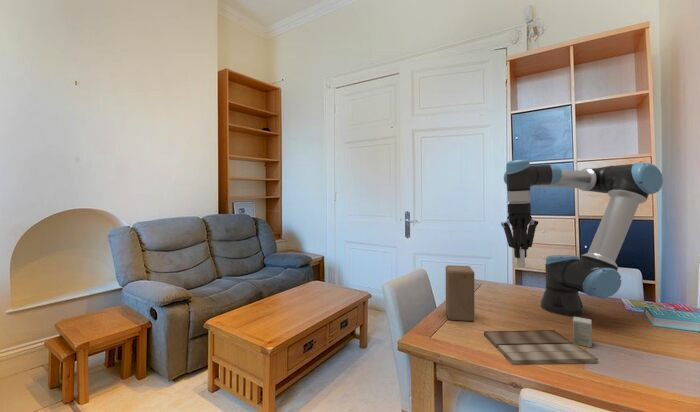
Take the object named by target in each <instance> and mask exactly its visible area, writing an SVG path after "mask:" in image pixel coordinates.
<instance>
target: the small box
mask: <svg viewBox="0 0 700 412" xmlns="http://www.w3.org/2000/svg"><path fill="white" fill-rule="evenodd" d="M592 325H593V322H592V319H589V318H585V317H579V316H573V317H572V342H573V344H576V345H578V346H579V345H580V346H584V347H589V348H592V347H593V346H592V345H593V343H592V342H593V336H592V335H593V331H592V330H593V329H592V328H593V327H592Z"/></svg>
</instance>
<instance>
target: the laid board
mask: <svg viewBox="0 0 700 412" xmlns="http://www.w3.org/2000/svg"><path fill="white" fill-rule="evenodd" d="M497 350H498V352H500V353H501V354H502V355H503V357H505V358H506V360H508V361H509V362H510V363H511V365H553V364H555V365H556V364H557V365H559V364H563V365H564V364H566V365H567V364H598V363H599V358H597V357H596V356H594V355H593V354H591V353H590V352H589V351H587V350H585V349H584V348H583V347H581V346H579V344H574V343H573V344H538V345H498V348H497Z"/></svg>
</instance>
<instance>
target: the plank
mask: <svg viewBox="0 0 700 412" xmlns="http://www.w3.org/2000/svg"><path fill="white" fill-rule="evenodd" d="M483 335H484V337H485V339H487V340H488V341H489V342H490V343H491V344H492V345H493V346H494V347H495V348H496V349H498V345H538V344H574V343H573V340H570V339H568V338H566V337H565V336H564V335H562V334H561V333H559V332H557V331H556V330H555V329H550V330H549V329H548V330H547V329H541V330H540V329H538V330H537V329H536V330H492V331H491V330H490V331H489V330H488V331H486V330H485V331H484V330H483Z"/></svg>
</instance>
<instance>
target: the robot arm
mask: <svg viewBox="0 0 700 412" xmlns="http://www.w3.org/2000/svg"><path fill="white" fill-rule="evenodd" d="M505 168H506V169H505V172H504V174H503V181H504V184H505V185H506V196H507V198H506V199H507V200H506V201H507V202H508V204H507V215H508V216H507V217H506V220H505V221H504V222H503V221H501V222H500V225H501V227H502V228H503V231H504V235H505V237H506V241H507V245H508V247H509V248H512V249H513V251H514V258H515V259H516V266H517V267H518V268H525V267H526V258H527V256H528V254H527V250H529V248H532V247H533V244H534V243H533V242H534V237H535V233H536V230H537V229H536V228H537V226H538V224H539V221H538V220H534V219H533V217H532V215H531V213H532V205H531V203H530V202H531V201H532V200H531V198H532V197H531V187H532V188H533V187H534V188H537V187H538V188H539V187H540V188H560V189H561V188H562V189H563V188H565V189H579V190H580V191H582V192H583V191H584V192H594V193H601V194H602V193H603V194H607V195H608V196H609V197H610V199H609V201H608V203H607V206H606V208H605V210H604V212H603V216H602V218H601V220H600V223H599V224H598V227H597V230H596V233H595V234H594V237H593V239H592V242H591V244H590V246H589V249H588V251H587V252H586V253H584V254H580V255H581V256H580V257H579V256H578V255H570V254H556V255H555V254H554V255H553V254H552V255H551V254H550V255H548V256H547V257H546V259H545V267H544V269H545V289H544V291H543V295H542V298H540V299H541V300H540V307H541V308H542V309H544V310H546V311H548V312H551V313H555V314H559V315H563V316H564V315H565V316H579V315H580V316H581V315H583V314H584V311H585V309H584V304H583V302H582V299H581V297H580V294H579V292H580V293H583V294H586V295H587V296H590V297H594V298H595V297H596V298H597V299H606V298H609V297H613V296H614V295H615V294H616V293H617V292H618V291H619V290H620V288H621V286H622V276H621V274H620V273H619V271H618V269H619V266H618V264H617V263H616V260H617V258H618V255H619V253H620V250H621V248H622V246H623V244H624V242H625V239H626V236H627V234H628V231H629V229H630V227H631V225H632V223H633V220H634V217H635V215H636V212H637V210H638V208H639V206H640V205H641V204H644V203H646V202H647V200H648V198H649V195H653V194H656V193H659V191H660V190H661V188H662V187H663V184H664V183H663V182H664V180H663V174H662V173H661V170H660V169H659V167H658V166H656V165H655V164H653V163H649V162H635V163H628V164H627V163H625V164H619V165H618V164H617V165H608V166H602V167H593V168H591V167H590V168H586V167H585V168H583V169H581V170H579V169H577V170H574V169H572V170H571V169H561V167H560V166H559V165H557V164H553V163H552V164H550V163H547V164H534V165H533V164H532V165H531V163H530V160H529V159H515V160H510V161H509V160H508V161H507V163H506V167H505ZM510 226H511V227H510Z"/></svg>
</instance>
